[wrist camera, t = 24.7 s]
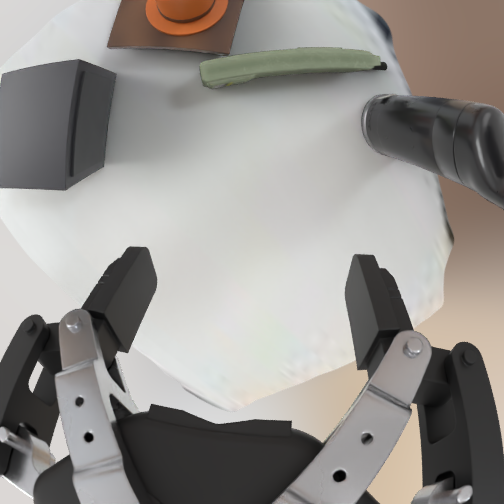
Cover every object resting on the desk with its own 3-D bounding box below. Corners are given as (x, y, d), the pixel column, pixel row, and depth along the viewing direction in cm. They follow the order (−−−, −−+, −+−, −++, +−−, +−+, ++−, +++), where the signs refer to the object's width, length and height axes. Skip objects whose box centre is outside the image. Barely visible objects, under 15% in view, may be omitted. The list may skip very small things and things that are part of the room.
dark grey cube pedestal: (121, 74, 25) (82, 58, 15) (108, 165, 30) (68, 190, 20) (54, 79, 23) (2, 74, 12) (45, 163, 28) (-6, 188, 18)
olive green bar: (198, 67, 27) (378, 55, 28) (203, 91, 28) (381, 76, 30) (197, 58, 21) (407, 52, 22) (203, 87, 23) (410, 76, 24)
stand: (246, -13, 22) (252, -26, 18) (226, 60, 27) (229, 54, 23) (141, -21, 18) (135, -33, 15) (116, 53, 24) (106, 47, 20)
